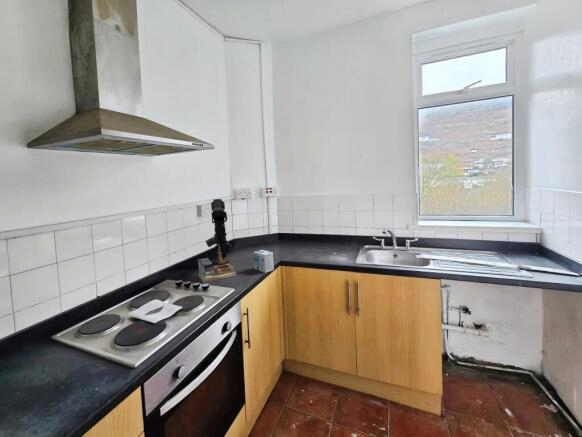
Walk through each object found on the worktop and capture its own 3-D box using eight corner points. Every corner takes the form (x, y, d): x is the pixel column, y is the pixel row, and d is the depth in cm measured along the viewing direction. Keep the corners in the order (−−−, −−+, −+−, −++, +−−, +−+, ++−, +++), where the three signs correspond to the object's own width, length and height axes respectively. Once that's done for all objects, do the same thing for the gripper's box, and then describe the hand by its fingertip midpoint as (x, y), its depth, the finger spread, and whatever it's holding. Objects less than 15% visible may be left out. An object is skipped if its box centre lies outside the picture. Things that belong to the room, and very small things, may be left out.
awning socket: (199, 276, 160) (197, 259, 159) (229, 269, 168) (228, 253, 167) (203, 282, 150) (201, 264, 148) (235, 275, 158) (234, 258, 157)
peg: (225, 261, 162) (224, 248, 161) (227, 262, 159) (225, 249, 158) (219, 262, 161) (218, 249, 160) (220, 264, 158) (219, 250, 157)
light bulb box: (254, 269, 167) (252, 252, 165) (263, 266, 171) (261, 249, 170) (265, 273, 159) (264, 254, 158) (274, 269, 164) (273, 252, 162)
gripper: (202, 231, 162) (205, 257, 164) (209, 236, 146) (212, 265, 148) (221, 228, 167) (223, 254, 169) (230, 233, 151) (233, 261, 153)
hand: (222, 258), depth 160 cm, fingers closed on peg, 4 cm apart
